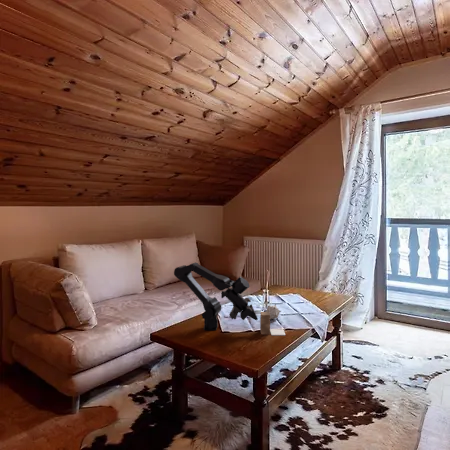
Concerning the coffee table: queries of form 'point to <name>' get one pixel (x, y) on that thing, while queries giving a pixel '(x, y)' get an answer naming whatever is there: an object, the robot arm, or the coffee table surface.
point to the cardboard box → (265, 322)
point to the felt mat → (277, 332)
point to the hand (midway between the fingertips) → (257, 319)
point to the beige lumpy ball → (273, 311)
